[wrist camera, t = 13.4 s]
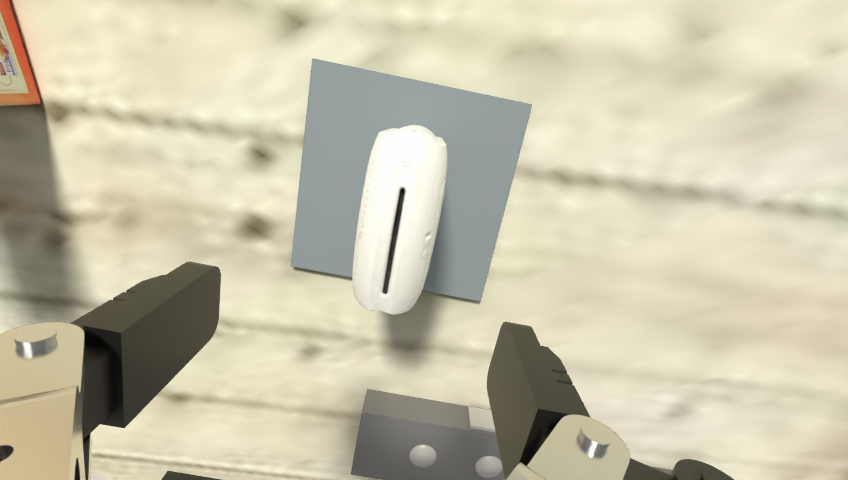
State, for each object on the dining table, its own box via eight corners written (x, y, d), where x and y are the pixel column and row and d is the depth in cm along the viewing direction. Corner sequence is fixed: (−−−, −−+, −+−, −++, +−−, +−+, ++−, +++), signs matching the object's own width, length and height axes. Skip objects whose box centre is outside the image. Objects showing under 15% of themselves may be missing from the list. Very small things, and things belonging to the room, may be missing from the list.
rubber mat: (314, 59, 29) (312, 58, 28) (530, 104, 30) (532, 104, 29) (293, 263, 34) (290, 266, 33) (479, 298, 35) (480, 301, 34)
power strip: (367, 386, 37) (361, 414, 34) (745, 451, 39) (775, 484, 36) (356, 448, 40) (349, 479, 36) (714, 507, 41) (740, 543, 38)
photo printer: (390, 117, 30) (364, 121, 18) (447, 129, 30) (460, 140, 18) (369, 248, 33) (336, 324, 21) (421, 257, 33) (417, 339, 21)
